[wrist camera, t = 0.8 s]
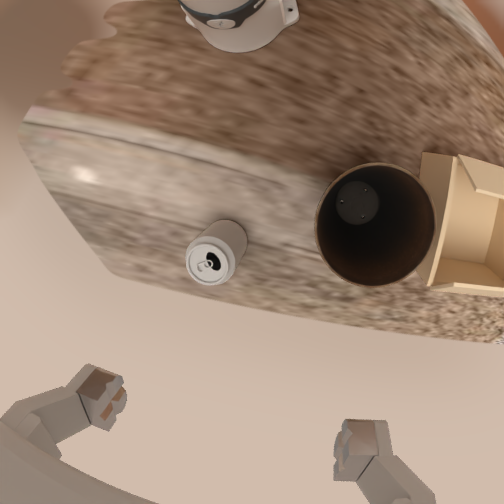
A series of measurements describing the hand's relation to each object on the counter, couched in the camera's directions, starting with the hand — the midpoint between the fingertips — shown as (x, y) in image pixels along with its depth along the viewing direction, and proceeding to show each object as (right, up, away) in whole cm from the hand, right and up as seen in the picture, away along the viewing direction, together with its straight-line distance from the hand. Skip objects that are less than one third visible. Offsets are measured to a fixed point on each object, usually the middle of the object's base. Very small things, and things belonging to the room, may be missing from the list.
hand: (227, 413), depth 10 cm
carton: (+37, +12, +36) cm, 52 cm away
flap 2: (+34, 0, +24) cm, 41 cm away
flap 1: (+35, +14, +19) cm, 42 cm away
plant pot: (+18, +14, +39) cm, 45 cm away
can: (-3, +8, +45) cm, 45 cm away
